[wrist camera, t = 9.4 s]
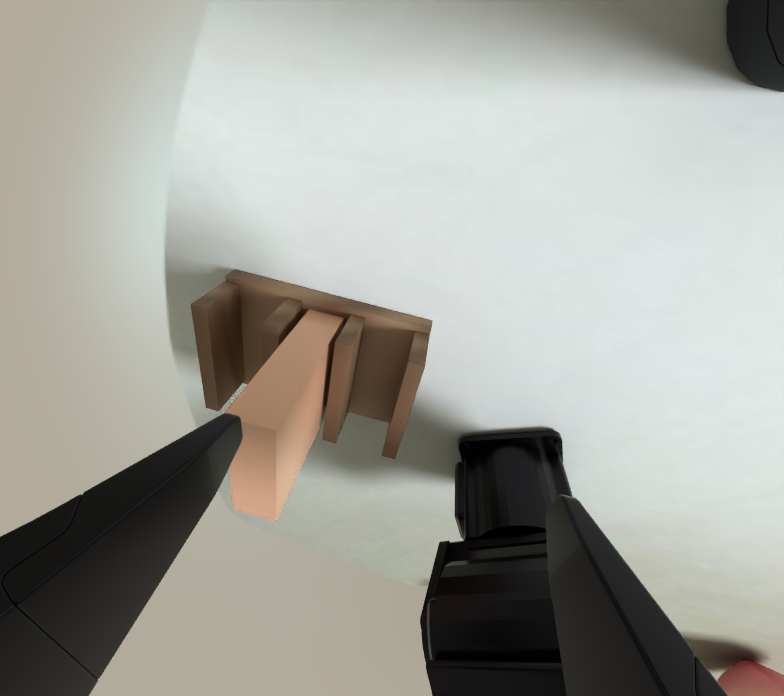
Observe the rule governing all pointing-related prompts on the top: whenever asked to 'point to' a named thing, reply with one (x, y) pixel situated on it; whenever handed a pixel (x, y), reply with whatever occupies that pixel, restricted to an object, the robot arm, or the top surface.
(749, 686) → the decorative fruit
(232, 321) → the rack
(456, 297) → the top surface
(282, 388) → the block
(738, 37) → the wine bottle
